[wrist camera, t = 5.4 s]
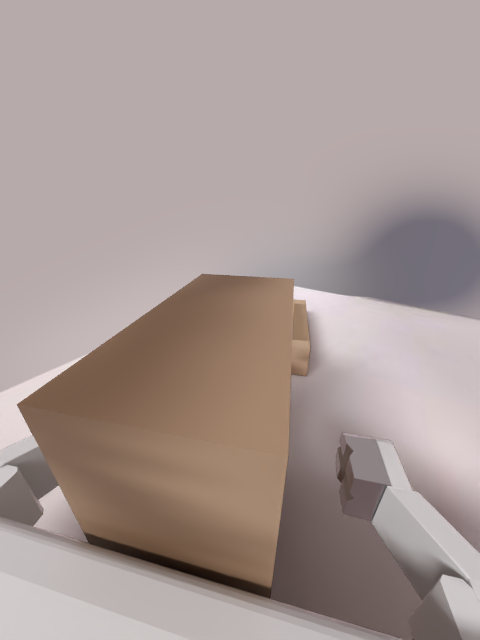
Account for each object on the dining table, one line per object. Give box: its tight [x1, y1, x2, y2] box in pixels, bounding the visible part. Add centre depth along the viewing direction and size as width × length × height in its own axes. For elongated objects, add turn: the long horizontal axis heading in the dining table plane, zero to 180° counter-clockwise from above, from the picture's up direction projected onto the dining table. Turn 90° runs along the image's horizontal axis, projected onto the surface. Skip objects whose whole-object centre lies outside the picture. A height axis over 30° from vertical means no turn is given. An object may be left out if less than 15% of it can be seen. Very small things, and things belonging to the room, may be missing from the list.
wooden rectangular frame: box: [291, 300, 310, 376], centre depth 29 cm, size 8×13×3 cm, turn 168°
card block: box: [17, 274, 294, 599], centre depth 9 cm, size 4×8×12 cm, turn 168°
